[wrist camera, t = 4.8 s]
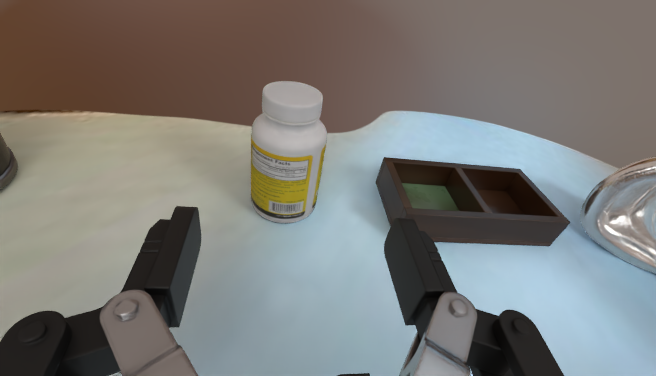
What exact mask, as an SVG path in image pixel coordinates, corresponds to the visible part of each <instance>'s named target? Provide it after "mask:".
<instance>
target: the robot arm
mask: <svg viewBox="0 0 656 376" xmlns="http://www.w3.org/2000/svg"><path fill="white" fill-rule="evenodd" d="M17 168H18V163H17V160H16V158H15V156H14V154H13V153H12V151H11V149H10V148H9V147H7V145H6V143H5V141H4V139H3V137H2V135H1V133H0V190H1V189H3V188H4V187H5V186H6V185H7V184H8V183H9V182H10V181H11V180H12V179H13V177H14V176H15V174H16V172H17ZM200 246H201V228H200V220H199V211H198V208H197V207H181V206H177V207H176V208H175V210H174V212H173V215H172V217H171V220H165V219H160V220H159V221H158V222H157V223H156V224H155V225H154V226H153V227H151V228H150V230H149V232H148V234H147V236H146V238H145V242H144V243H143V245H142V247H141V250H140V253H139V254H138V256H137V258H136V261H135V263H134V265H133V267H132V270H131V272H130V274H129V276H128V278H127V281H126V283H125V285H124V287H123V289H122V291H121V292H120V293H119V294H118V295H116V296H114V297H113V298H111V299H110V300H109V301H108V302H107V303H106V304H105V305H104V306H103V307H101V308H99V309H96V310H93V311H90V312H86V313H82V314H78V315H75V316H71V317H67V318H64V317H63V315H61V314H60V313H58V312H55V311H42V312H38V313H34V314H31V315H29V316H27V317H25V318H23V319H22V320H20V321H19V322H17V323H16V324H14V325H13V326H12V327H11V328H10V329H9V330H8V331H7V333H6V334H5V335H4V337H3V338H2V340H1V342H0V376H108V375H111V374H114V373H117V372H120V371H121V373H122V375H123V376H198V374H197V373H196V371H195V369H194V367H193V366H192V364H191V362H190V360H189V358H188V357H187V355H186V353H185V351H184V350H183V348H182V347H181V346H180V345H178V344H177V342H176V341H175V339H174V337H173V335H172V333H171V332H170V330H169V328H170V327H179V326H180V322H181V318H182V315H183V311H184V307H185V303H186V300H187V296H188V292H189V288H190V285H191V281H192V277H193V273H194V270H195V266H196V262H197V258H198V255H199V251H200ZM384 254H385V258H386V261H387V265H388V268H389V271H390V275H391V278H392V281H393V285H394V288H395V292H396V295H397V298H398V302H399V305H400V308H401V312H402V315H403V319H404V322H405V325H415V326H416V329H417V333H416V335H415V337H414V339H413V342H412V344H411V347H410V349H409V352H408V354H407V357H406V359H405V362H404V364H403V366H402V369H401V371H400V374H399V376H470V368H471V371H472V374H473V376H564V375H563V373H562V371H561V369H560V368H559V366H558V364H557V362H556V361H555V359H554V357H553V355H552V354H551V352H550V350H549V348H548V346H547V345H546V343H545V341H544V339H543V338H542V336H541V334H540V332H539V331H538V329H537V327H536V326H535V324H534V323H533V322H532V321H531V320H530V319H529V318H528V317H526V316H525V315H524V314H522V313H520V312H517V311H514V310H505V311H503V312H502V313H501V314H500V315H499V316H497V315H493V314H490V313H487V312H484V311H480V310H478V309H475V307H474V306H473V304H472V303H471V302H470V301H469V300H468V299H467V298H466V297H464V296H463V295H461V294H459V293H457V291H456V289H455V287H454V285H453V282H452V280H451V278H450V276H449V274H448V272H447V269H446V267H445V265H444V263H443V261H441V257H440V254H439V253H438V250H437V248H436V246H435V244H434V241H433V240H432V239H431V238H430V237H429V236H428V234H427V233H426V232H425V231H419V229H418V227H417V224H416V222H415V220H414V219H412V218H395V219H394V220H393V223H392V225H391V228H390V230H389V233H388V235H387V238H386V240H385V244H384ZM467 365H468V366H467ZM469 366H470V367H469ZM338 376H370V374H369V373H364V374H340V375H338Z"/></svg>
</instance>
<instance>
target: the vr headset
mask: <svg viewBox="0 0 656 376" xmlns="http://www.w3.org/2000/svg"><path fill="white" fill-rule="evenodd" d="M580 222H581V225H582V227H583V229H584V231H585V232H586V233H587V234H588V236H590V237H591V238H592V239H593V240H594V241H595V242H596V243H598V244H599V245H601V246H602V247H603V248H605V249H606V250H608V251H609V252H610V253H612V254H614V255H615V256H617V257H619V258H620V259H622V260H624V261H626V262H628V263H630V264H632V265H634V266H636V267H638V268H641V269H644V270H646V271H649V272H652V273H656V156H655V157H651V158H647V159H643V160H640V161H637V162H634V163H632V164H629V165H627V166H625V167H623V168H621V169H619V170H617V171H616V172H614V173H613V174H611V175H610V176H608V177H607V178H605V179H604V180H603V181H601V182H600V183H599V184H598V185H596V186H595V188H594V189H593V190H592V191H591V192H590V194H589V195H588V197H587V198H586V200H585V202H584V203H583V205H582V208H581V211H580Z"/></svg>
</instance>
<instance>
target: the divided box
mask: <svg viewBox="0 0 656 376" xmlns="http://www.w3.org/2000/svg"><path fill="white" fill-rule="evenodd" d="M376 184H377V187H378V190H379V193H380V196H381V199H382V202H383V205H384V208H385V211H386V214H387V217H388V220H389V223H390V226H391V225H392V223H393V220H394V219H395V218H412V219H414V220H415V222H416V224H417V227H418V229H419V231H425V232H426V233H427V234H428V236H429V237H430V238H431V239H432V240H433V241H434V242H454V243H480V244H507V245H533V246H550V245H551V244H552V242H554V240H555V239H556V238H557V237H558V236H559V235H560V234H561V233H562V231H563V230H564V229H565V228H566V227H567V226H568V225H569V224H570V222H569V221H568V220H567V218H566V217H564V215H563V214H562V213H561V212H560V211H559V210H558V209H557V208H556V207H555V206H554V205H553V204H552V203H551V201H550V200H549V199H548V198H547V197H546V196H545V195H544V194H543V193H542V192H541V191H540V190H539V189H538V188H537V187H536V186H535V184H534V183H533V182H532V181H531V180H530V179H529V178H528V177H527V176H526V175H525V174H524V173H523V172H522V171H521V170H520V169H514V168H502V167H491V166H479V165H468V164H456V163H444V162H433V161H421V160H410V159H398V158H386V157H384V158H383V162H382V165H381V168H380V171H379V174H378V177H377V180H376Z"/></svg>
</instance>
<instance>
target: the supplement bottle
mask: <svg viewBox="0 0 656 376" xmlns="http://www.w3.org/2000/svg"><path fill="white" fill-rule="evenodd" d="M322 101H323V96H322V94H321V93H320V91H318V90H317V89H316V88H314V87H312V86H310V85H307V84H304V83H299V82H293V81H279V82H273V83H270V84H268V85H266V86H265V87H264V89H263V96H262V111H263V113H262V114H261V115H259V116H258V117H257V118H256V119H255V121H254V123H253V125H252V133H251V201H252V205H253V207H254V209H255V210H256V212H257V213H258V214H260V215H261V216H262V217H264V218H266V219H268V220H270V221H273V222H277V223H294V222H297V221H300V220H303V219H304V218H306V217H308V216H309V215H310V214H311V213H312V211H313V210H314V208H315V204H316V200H317V194H318V188H319V183H320V177H321V171H322V165H323V159H324V153H325V148H326V141H327V132H326V129H325V126H324V125H323V123H322V122H321V121H320V120H319V118H320V114H321V110H322Z"/></svg>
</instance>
